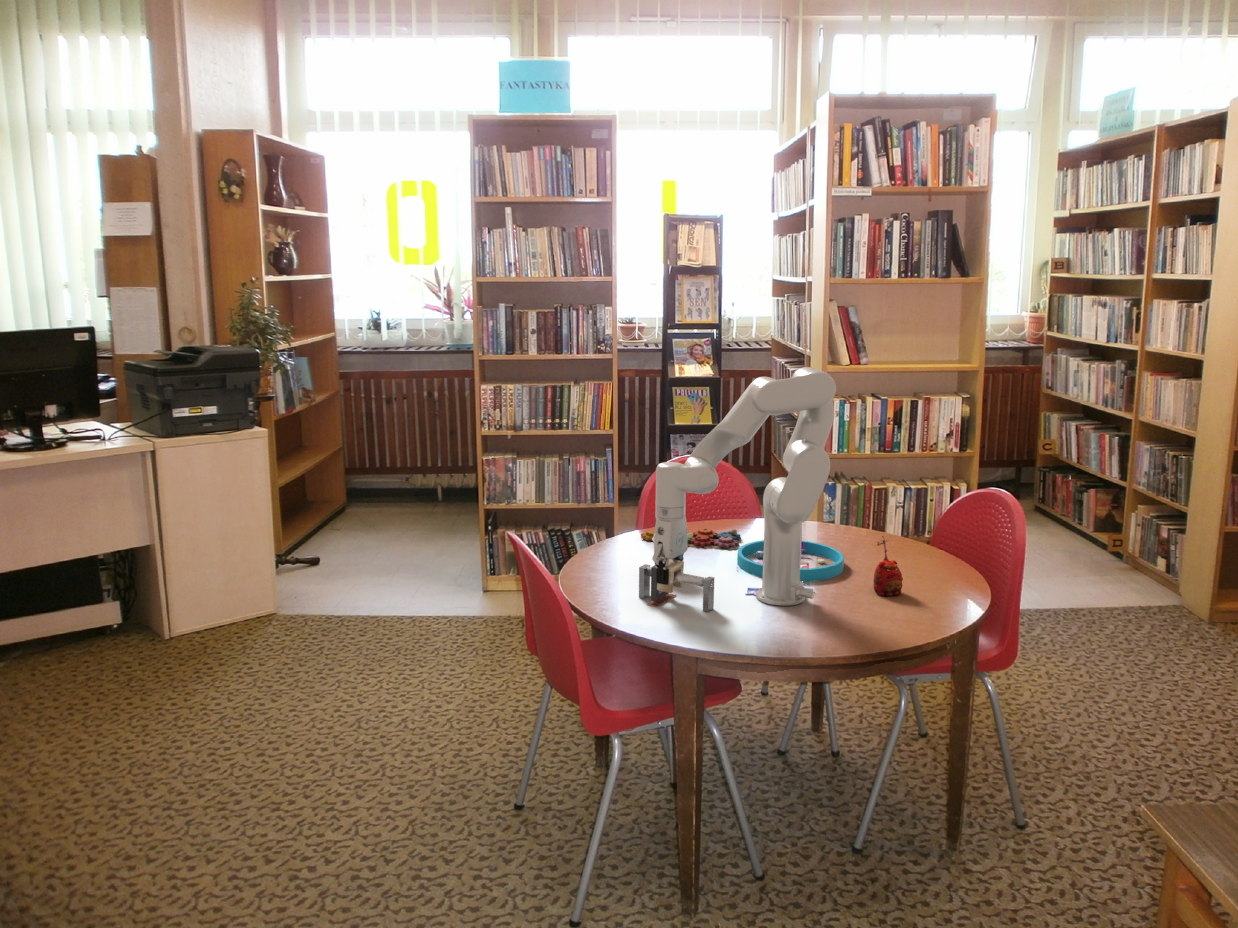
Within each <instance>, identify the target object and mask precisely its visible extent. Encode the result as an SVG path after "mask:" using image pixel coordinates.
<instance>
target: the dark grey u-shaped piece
mask: <svg viewBox="0 0 1238 928" xmlns="http://www.w3.org/2000/svg"><path fill="white" fill-rule="evenodd" d="M664 561H665V560H663V561H662V562H664ZM650 567H651V577H650V602H652V601H655V602H656V601H658V600H659V599H661V598H662V597H664V596H665V595H667V594H670V593H667V592H663V591H659V590H657V582H656V579H657V568H656V565H655V564H654V565H653V566H650Z"/></svg>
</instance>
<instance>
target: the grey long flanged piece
mask: <svg viewBox="0 0 1238 928" xmlns="http://www.w3.org/2000/svg"><path fill="white" fill-rule="evenodd" d="M651 567H652V566H651V565H649V564H645V563H644V564H643V565H641V566H639V568H638V598H639V599H646V598H648V597H651ZM673 581H675V582H680V583H683V584H687V585H689V586H690V585H691V586H696V587H702V612H705V613H709V612H712V610H714V608H715V607H714V606H715V605H714V603H715V602H714V601H715V577H714V576H707V577H704V576H700V575H693V574H688V573H684V572H683V573H679V572H674V578H673ZM676 597H677V594H673V593H669V594H667V595H665V596H664V597H662V598H661V599H659V600H658V601H656V602H655V601H650V602H648V603H647V604H646V605H647V606H651V607H656V608H658V607H660V606H662V605H663V604H665V603H667V602H668V601H670V600H671V599H674V598H676Z"/></svg>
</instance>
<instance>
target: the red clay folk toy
mask: <svg viewBox="0 0 1238 928" xmlns="http://www.w3.org/2000/svg"><path fill="white" fill-rule="evenodd" d="M881 537H882V538H883V539H882V540H880V541H881V542H879V541H877V544H876V545H877V546H880V545H883V548H884V558H883V561H879V562H878V565H877V566H876V567H875V570H874V573H873V590H874V592H875V593H876V594H878V595H879V596H880V597H881V596H882V597H883V596H884V597H885V596H886V597H890V596H891V597H892V596H900V595H901V594H902V589H903V579H904V578H903V576H902V575H903V574H902V572H901V570H900V568H899V567H898V562H897V561H896V560H890V559H889V558H888V554H887V552H888V549H886V548H887V546H886V542H888V541H890V540H889V539H888V540H886V539H885V536H884V535H882V536H881Z"/></svg>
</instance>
